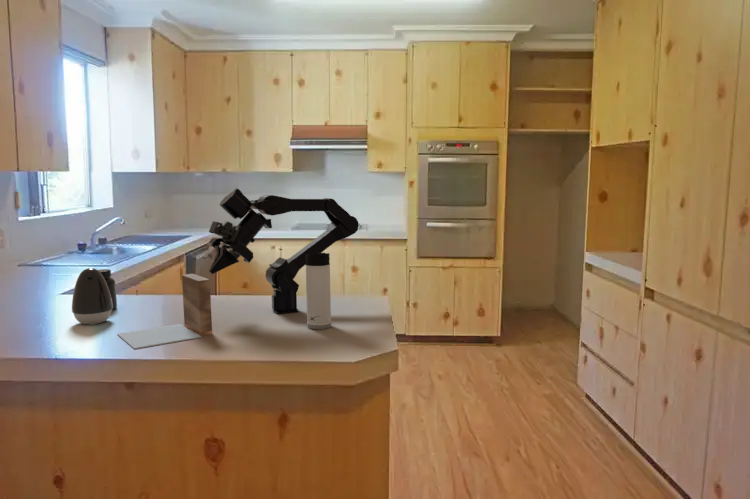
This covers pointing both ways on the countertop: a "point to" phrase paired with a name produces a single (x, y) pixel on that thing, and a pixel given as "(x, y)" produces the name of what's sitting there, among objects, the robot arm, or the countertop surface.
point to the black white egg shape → (91, 298)
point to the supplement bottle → (110, 285)
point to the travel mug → (318, 291)
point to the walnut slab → (197, 304)
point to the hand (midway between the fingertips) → (210, 272)
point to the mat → (158, 336)
